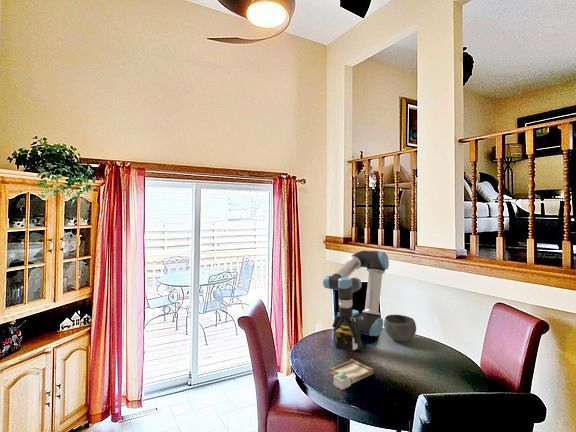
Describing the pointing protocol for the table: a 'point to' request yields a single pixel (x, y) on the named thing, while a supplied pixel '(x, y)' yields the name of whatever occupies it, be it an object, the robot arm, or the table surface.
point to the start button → (341, 376)
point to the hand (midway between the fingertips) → (346, 344)
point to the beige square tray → (352, 370)
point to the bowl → (400, 327)
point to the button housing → (342, 382)
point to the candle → (344, 339)
